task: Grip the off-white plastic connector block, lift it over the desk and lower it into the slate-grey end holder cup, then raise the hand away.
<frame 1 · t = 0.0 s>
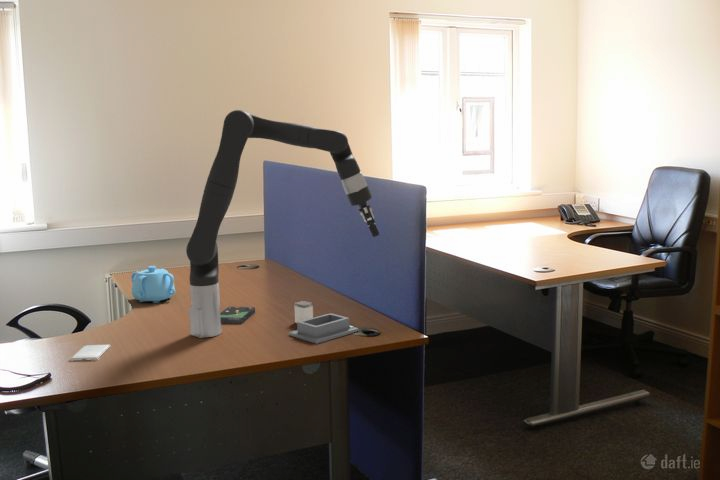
hand: (375, 233, 247), 31 cm above the table, tool tilted 20°, fingers open, 8 cm apart
disk drive: (235, 319, 268), on the table
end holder: (323, 333, 245), on the table
connector: (304, 322, 259), on the table
decorative pot: (154, 300, 298), on the table
hard drive: (91, 356, 231), on the table
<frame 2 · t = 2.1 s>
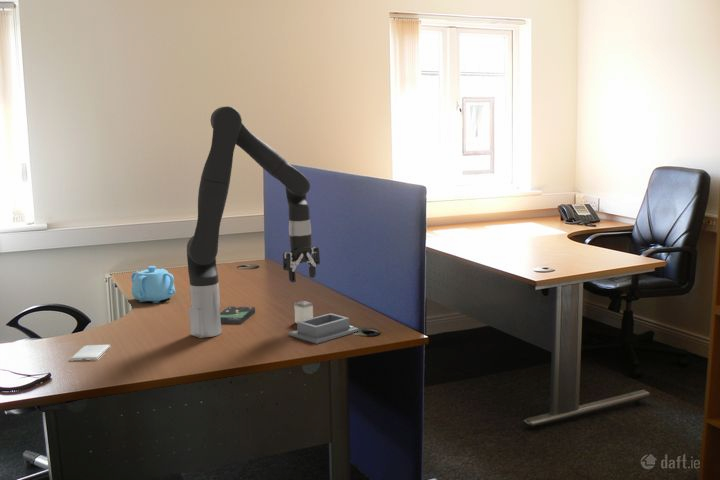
hand: (302, 279, 256), 15 cm above the table, tool pointing down, fingers open, 8 cm apart
nothing on the table moved.
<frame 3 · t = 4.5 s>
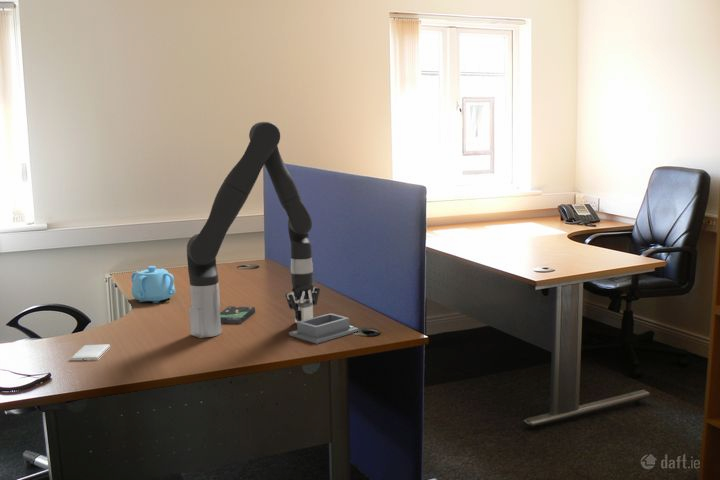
hand: (304, 319, 259), 1 cm above the table, tool pointing down, fingers closed on connector, 4 cm apart
connector: (304, 322, 259), on the table, touching gripper
everything else where it was.
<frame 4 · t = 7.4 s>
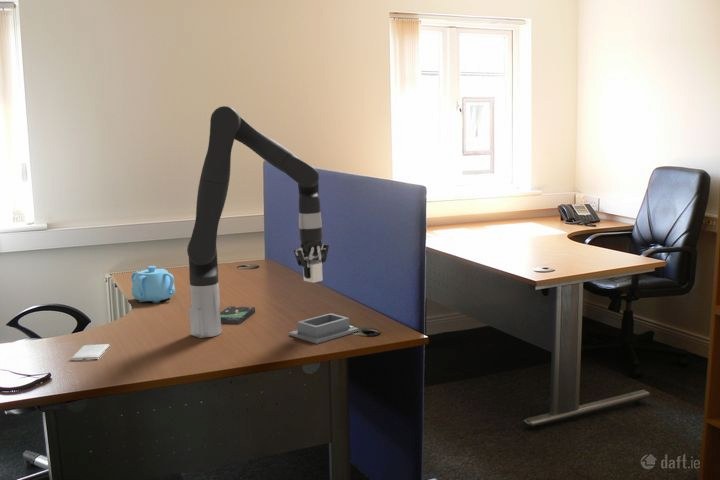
hand: (312, 276, 249), 18 cm above the table, tool pointing down, fingers closed on connector, 4 cm apart
connector: (313, 280, 250), point 16 cm above the table, touching gripper
everything else where it was.
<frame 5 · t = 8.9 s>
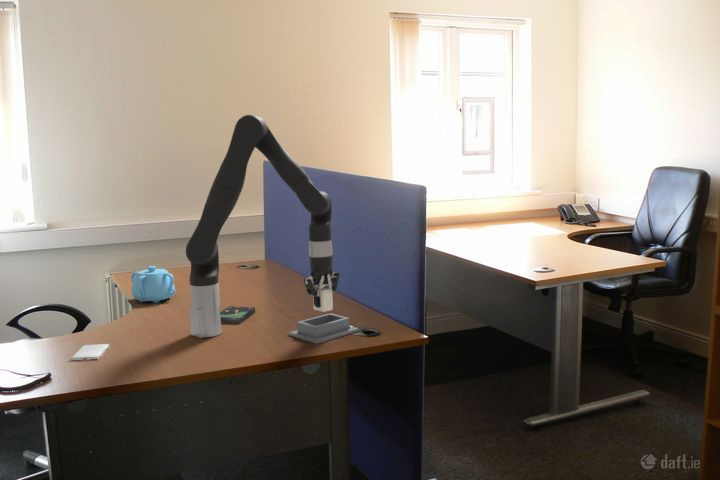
hand: (323, 305, 244), 9 cm above the table, tool pointing down, fingers closed on connector, 4 cm apart
connector: (323, 309, 244), point 8 cm above the table, touching gripper
everything else where it was.
when the fingers open (4 cm above the table, at t = 10.4 s): connector drops 2 cm, resting on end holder.
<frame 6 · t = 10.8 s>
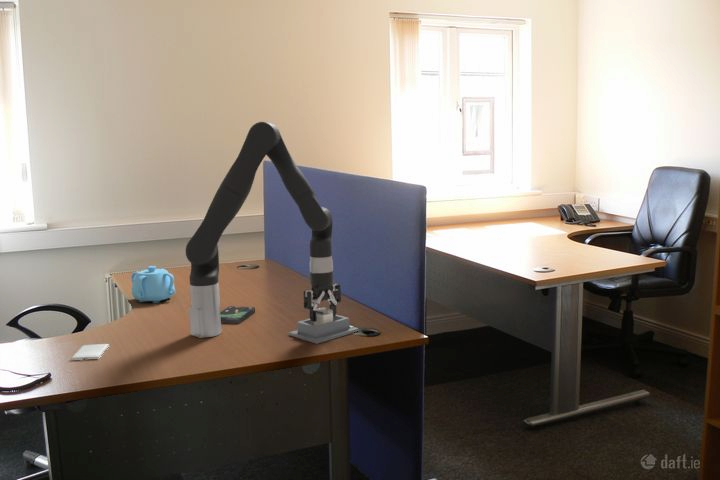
hand: (323, 318, 244), 5 cm above the table, tool pointing down, fingers open, 8 cm apart
connector: (323, 330, 245), point 1 cm above the table, touching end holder
everything else where it was.
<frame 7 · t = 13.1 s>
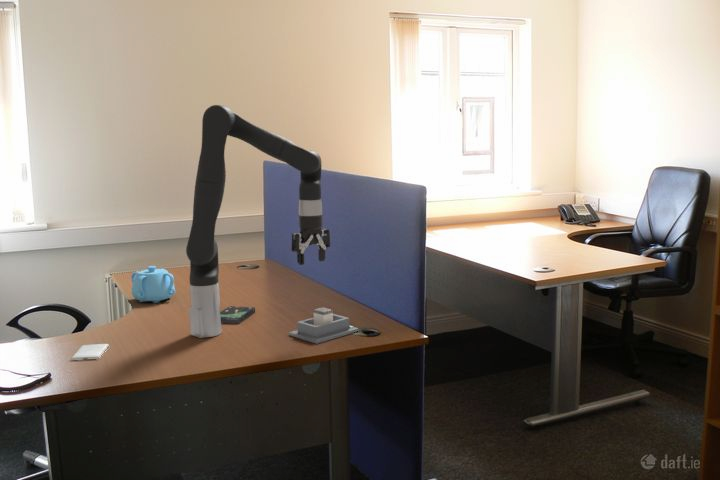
hand: (311, 262, 243), 23 cm above the table, tool pointing down, fingers open, 8 cm apart
nothing on the table moved.
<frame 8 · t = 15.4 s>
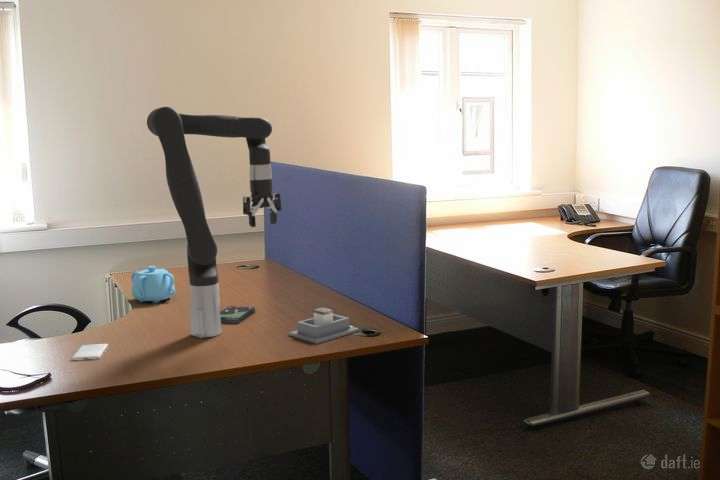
hand: (263, 225, 255), 34 cm above the table, tool pointing down, fingers open, 8 cm apart
nothing on the table moved.
at the end: connector inside the target area on the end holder (0.0 cm from its centre), point 1.0 cm above the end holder's base; connector tilted 0°; the gripper is holding nothing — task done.
